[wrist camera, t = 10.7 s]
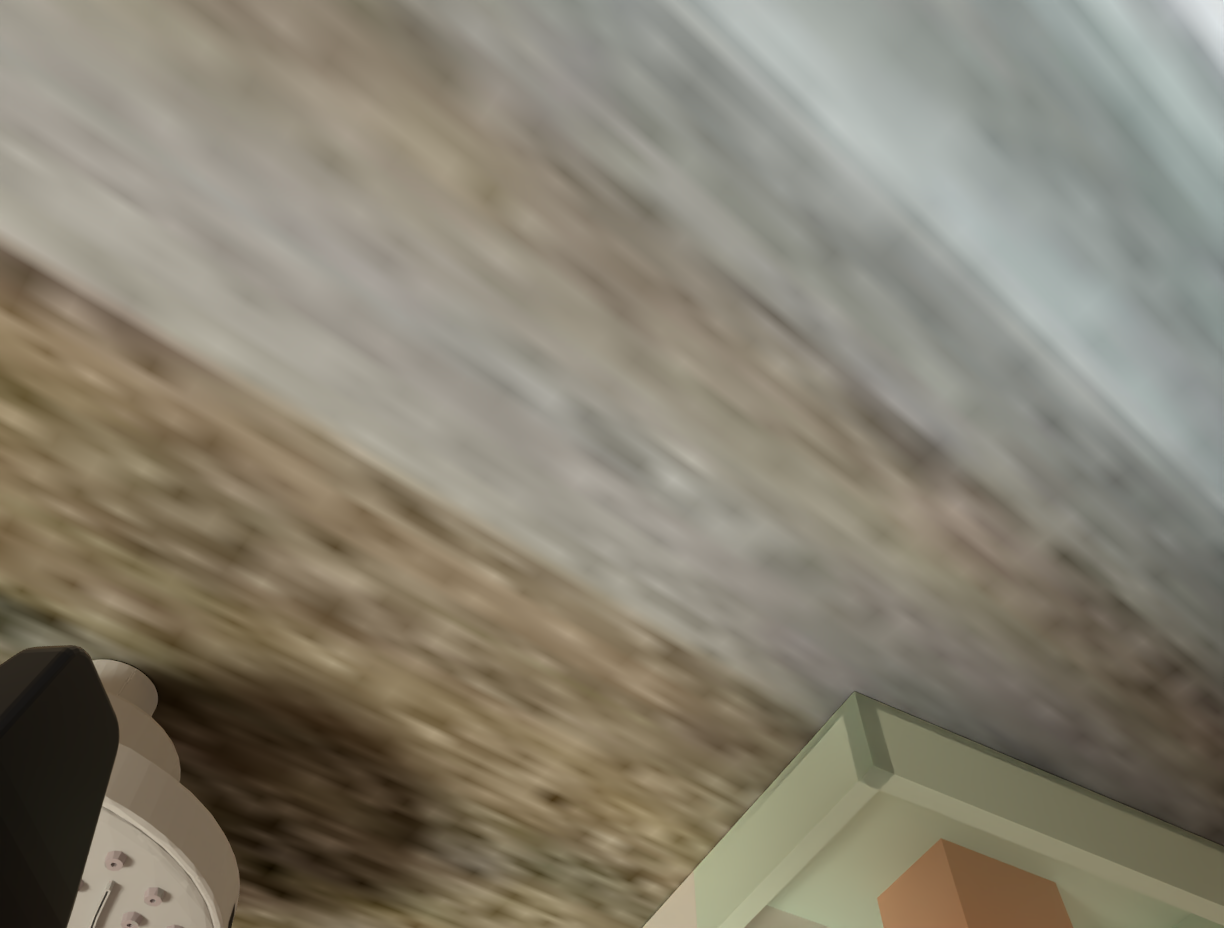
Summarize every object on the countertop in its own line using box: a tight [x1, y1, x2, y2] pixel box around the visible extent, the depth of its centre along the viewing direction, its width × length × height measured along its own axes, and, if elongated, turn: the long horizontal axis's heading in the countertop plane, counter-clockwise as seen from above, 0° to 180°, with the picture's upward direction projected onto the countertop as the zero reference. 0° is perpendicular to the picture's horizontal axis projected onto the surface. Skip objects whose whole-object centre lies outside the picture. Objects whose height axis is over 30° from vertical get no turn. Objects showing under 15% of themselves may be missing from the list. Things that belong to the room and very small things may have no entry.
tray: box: [694, 691, 1224, 928], centre depth 29 cm, size 8×14×2 cm, turn 62°
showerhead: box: [67, 659, 240, 928], centre depth 23 cm, size 9×7×10 cm
